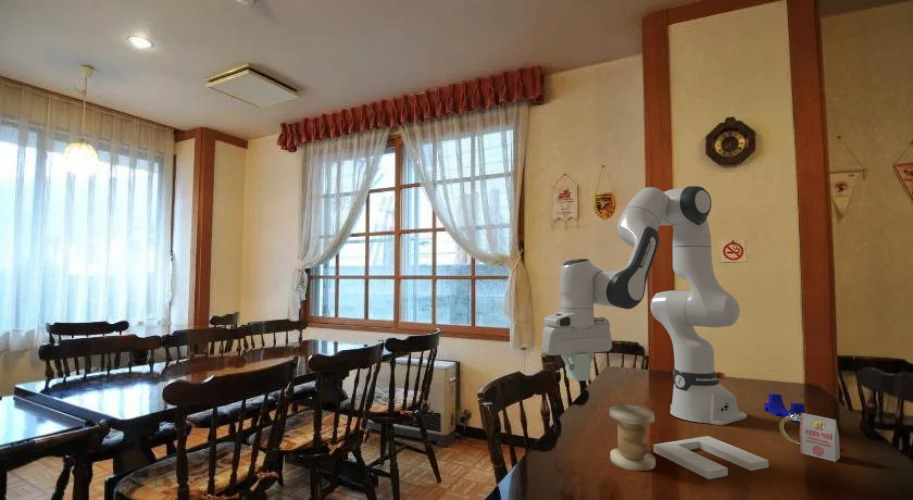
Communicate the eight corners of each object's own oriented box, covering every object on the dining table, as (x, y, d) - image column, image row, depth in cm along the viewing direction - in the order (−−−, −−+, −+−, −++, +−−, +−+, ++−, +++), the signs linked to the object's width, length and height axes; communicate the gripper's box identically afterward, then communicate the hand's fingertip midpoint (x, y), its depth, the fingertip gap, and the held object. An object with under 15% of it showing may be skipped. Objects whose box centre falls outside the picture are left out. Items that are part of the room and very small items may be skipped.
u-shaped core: (708, 443, 116) (708, 435, 116) (768, 469, 101) (768, 460, 101) (653, 452, 110) (653, 444, 110) (708, 481, 95) (708, 471, 95)
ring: (815, 448, 113) (813, 416, 113) (808, 450, 111) (807, 418, 112) (784, 439, 119) (783, 409, 119) (778, 441, 117) (776, 411, 118)
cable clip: (764, 412, 143) (763, 393, 143) (779, 412, 143) (778, 393, 143) (789, 424, 131) (788, 404, 131) (805, 425, 131) (804, 404, 131)
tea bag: (805, 451, 111) (803, 411, 111) (840, 460, 105) (838, 418, 106) (800, 455, 109) (798, 414, 109) (835, 464, 103) (833, 421, 104)
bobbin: (634, 451, 111) (633, 403, 111) (665, 468, 101) (664, 415, 102) (601, 456, 108) (600, 406, 108) (629, 474, 98) (628, 419, 99)
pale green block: (579, 375, 122) (578, 350, 123) (590, 379, 117) (589, 353, 118) (566, 376, 121) (566, 351, 121) (577, 381, 116) (576, 354, 117)
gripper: (601, 315, 126) (602, 364, 126) (538, 318, 120) (539, 369, 119) (616, 317, 120) (617, 369, 120) (550, 320, 114) (551, 375, 113)
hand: (578, 369), depth 119 cm, fingers closed on pale green block, 4 cm apart
